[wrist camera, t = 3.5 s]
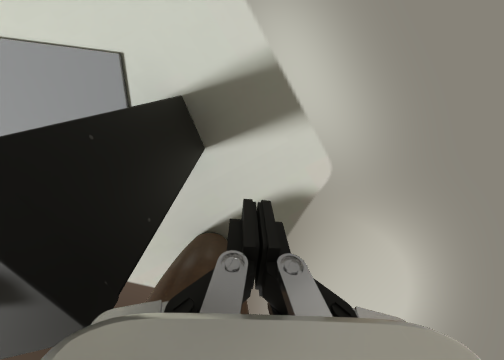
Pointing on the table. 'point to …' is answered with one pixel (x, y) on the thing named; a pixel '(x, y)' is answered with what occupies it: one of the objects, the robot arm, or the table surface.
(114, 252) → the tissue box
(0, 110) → the mat
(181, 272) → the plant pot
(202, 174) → the table surface
